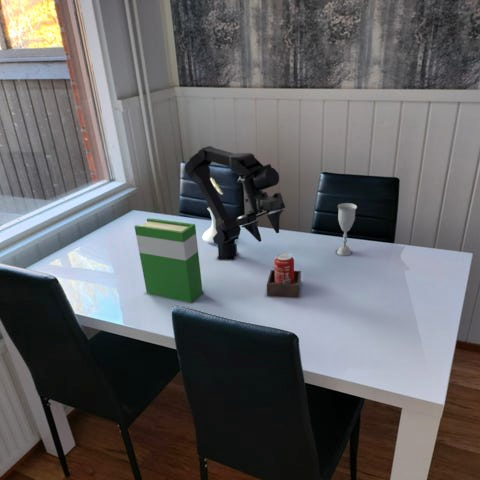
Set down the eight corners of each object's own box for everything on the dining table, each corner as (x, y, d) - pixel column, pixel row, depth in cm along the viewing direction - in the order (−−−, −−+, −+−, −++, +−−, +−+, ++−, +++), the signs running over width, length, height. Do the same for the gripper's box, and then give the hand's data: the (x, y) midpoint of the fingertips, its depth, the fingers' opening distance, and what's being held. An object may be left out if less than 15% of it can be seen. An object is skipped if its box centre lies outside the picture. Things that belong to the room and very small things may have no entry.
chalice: (332, 249, 180) (335, 203, 170) (350, 248, 180) (353, 202, 171) (337, 257, 174) (340, 210, 164) (355, 255, 174) (359, 208, 164)
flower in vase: (229, 245, 189) (225, 183, 176) (201, 246, 190) (195, 185, 176) (230, 233, 200) (226, 174, 187) (204, 234, 201) (198, 175, 187)
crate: (267, 296, 152) (266, 283, 150) (271, 281, 161) (270, 269, 158) (298, 297, 150) (298, 285, 148) (300, 282, 159) (301, 270, 156)
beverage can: (293, 284, 158) (294, 252, 151) (293, 293, 152) (294, 260, 146) (275, 284, 158) (274, 252, 152) (274, 293, 153) (273, 260, 147)
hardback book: (146, 293, 158) (134, 226, 145) (159, 283, 164) (148, 218, 151) (191, 302, 151) (182, 232, 138) (202, 292, 157) (195, 224, 144)
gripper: (251, 194, 144) (267, 242, 148) (289, 179, 155) (303, 225, 159) (228, 202, 153) (244, 247, 157) (266, 187, 164) (280, 230, 168)
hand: (269, 237), depth 160 cm, fingers open, 9 cm apart
